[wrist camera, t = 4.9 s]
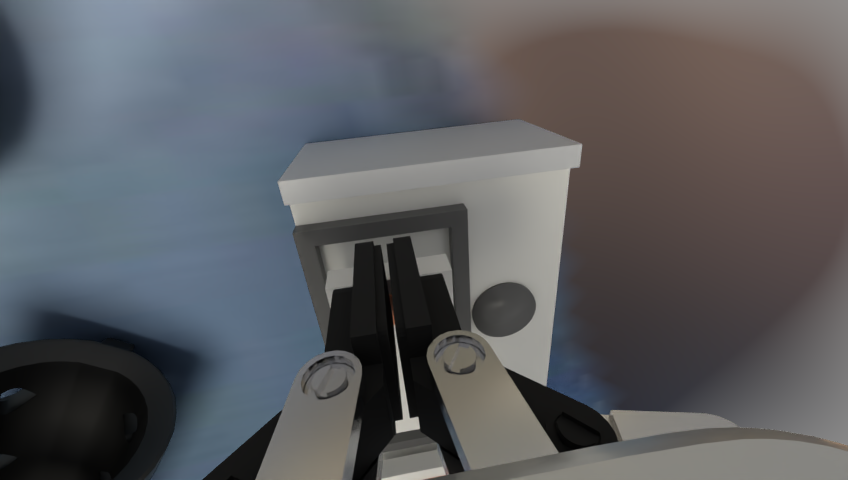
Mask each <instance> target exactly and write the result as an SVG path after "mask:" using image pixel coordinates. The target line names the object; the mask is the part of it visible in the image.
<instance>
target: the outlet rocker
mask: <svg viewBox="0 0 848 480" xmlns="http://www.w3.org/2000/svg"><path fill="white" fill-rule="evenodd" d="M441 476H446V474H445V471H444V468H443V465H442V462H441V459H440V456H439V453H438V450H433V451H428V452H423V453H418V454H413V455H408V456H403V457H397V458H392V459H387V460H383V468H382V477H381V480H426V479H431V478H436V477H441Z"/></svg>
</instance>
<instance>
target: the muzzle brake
mask: <svg viewBox="0 0 848 480" xmlns="http://www.w3.org/2000/svg"><path fill="white" fill-rule="evenodd" d="M133 348H134V345H133V344H130V343H127V342H123V341H120V340H116V339H113V338H107V339H105V340H103V341H102V342H96V341H90V340H79V339H45V340H37V341H29V342H21V343H15V344H10V345H6V346H2V347H0V396H1V393H3V392H5V391H7V390H10V389H13V388H22V390H20V391H18V392H17V393H15V394H13V395H10V396H8V397H4V398H1V399H0V454H1V455H0V480H150V479H151V477H152V475H153V474H154V472H155V470H156V468H157V466H158V465H159V463H160V461H161V459H162V457H163V455H164V453H165V451H166V449H167V446H168V444H169V442H170V439H171V437H172V434H173V432H174V427H175V420H176V403H175V396H174V393H173V391H172V388H171V386H170V383H169V382H168V380H167V379H166V378H165V376H164V375H163V374H162V372H161V371H160V370H159V369H158V368H157V367H155V366H154V365H153V364H152V363H151V362H150V361H149V360H147V359H145V358H143V357H141V356H140V355H138V354H136V353H134V352H132V351H133Z"/></svg>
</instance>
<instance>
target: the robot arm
mask: <svg viewBox="0 0 848 480" xmlns="http://www.w3.org/2000/svg"><path fill="white" fill-rule="evenodd" d="M386 245H387V255H388V264H389V273H390V283H391V292H392V301H393V311H394V320H395V328H396V336H397V342H398V348H399V355H400V361H401V367H402V373H403V379H404V385H405V392H406V398H407V404H408V410H409V416H410V418H414V417H418V418H419V425H420V432H422V433H423V434H425V435H426V436H427V437H429V438H430V439H432V440H433V441H435V442H436V444H437V450H438V453H439V456H440V459H441V462H442V465H443V468H444V471H445V474H446V476H441V477H436V478H431V479H426V480H848V446H847V445H844V444H841V443H837V442H833V441H830V440H826V439H821V438H818V437H814V436H808V435H802V434H796V433H790V432H785V431H778V430H770V429H759V428H740V427H739V426H737V425H736V424H734V423H733V422H731V421H728V420H726V419H723V418H721V417H719V416H716V415H710V414H704V413H682V412H654V411H653V412H652V411H625V410H611V411H610V415H601V414H599V413H598V412H597V411H595V410H593V409H592V408H590V407H588V406H587V405H585V404H582V403H580V402H578V401H576V400H574V399H572V398H570V397H568V396H565V395H563V394H561V393H559V392H557V391H555V390H553V389H550V388H548V387H546V386H544V385H542V384H540V383H538V382H535V381H533V380H531V379H529V378H527V377H525V376H523V375H520V374H518V373H516V372H514V371H512V370H510V369H508V368H506V367H504V366H503V365H502V363H501V362H500V360H499V359H498V357H497V356H496V354H495V352H494V351H493V349H492V348H491V346H490V345H489V343H488V342H487V341H486V340H485V339H484V338H483V337H481V336H479V335H478V334H476V333H473V332H469V331H463V330H461V327H460V324H459V321H458V318H457V315H456V312H455V309H454V306H453V303H452V301H451V298H450V295H449V292H448V289H447V286H446V283H445V280H444V277H443V275H442V273H439V274H433V275H426V276H420V274H419V270H418V266H417V262H416V258H415V254H414V249H413V245H412V241H411V237H410V236H405V237H398V238H393V243H389V244H386ZM398 420H403V412H402V403H401V393H400V383H399V373H398V363H397V353H396V344H395V334H394V324H393V316H392V310H391V304H390V298H389V291H388V285H387V279H386V273H385V267H384V261H383V255H382V249H381V245H375V246H374V242H373V241H370V242H363V243H356V244H355V251H354V269H353V287H347V288H341V289H334V290H333V293H332V301H331V308H330V315H329V323H328V330H327V338H326V345H325V353H322V354H320V355H317V356H315V357H314V358H312V359H311V360H309V361H308V362H307V363H306V364H305V365H304V366H303V367H302V368H301V369H300V370H299V372H298V374H297V375H296V377H295V379H294V382H293V384H292V387H291V389H290V392H289V395H288V397H287V400H286V402H285V405H284V407H283V410H281V411H280V412H279V413H278V414H277V415H276V416H275V417H273V418H272V419H271V420H270V421H269V422H268V423H267V424H265V425H264V426H263V427H262V428H261V429H260V430H259V431H257V432H256V433H255V434H254V435H253V436H252V437H251V438H249V439H248V440H247V441H246V442H245V443H244V444H243V445H241V446H240V447H239V448H238V449H237V450H236V451H235V452H233V453H232V454H231V455H230V456H229V457H228V458H227V459H225V460H224V461H223V462H222V463H221V464H220V465H219V466H217V467H216V468H215V469H214V470H213V471H212V472H211V473H209V474H208V475H207V476H206V477H205V478H204V479H203V480H381V477H382V468H383V452H382V451H383V450H384V448H385V447H386V446H387V445H388V443H389V442H390V441H391V440H392V438H393V437H394V435H396V424H395V421H398Z"/></svg>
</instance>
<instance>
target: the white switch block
mask: <svg viewBox="0 0 848 480" xmlns="http://www.w3.org/2000/svg"><path fill="white" fill-rule="evenodd" d="M581 150H582V144H581V143H579V142H576V141H574V140H570V139H568V138H566V137H563V136H561V135H558V134H556V133H553V132H551V131H548V130H546V129H543V128H540V127H538V126H536V125H533V124H530V123H528V122H525V121H523V120H520V119H515V120H506V121H498V122H489V123H480V124H472V125H463V126H454V127H446V128H437V129H429V130H420V131H411V132H403V133H394V134H385V135H377V136H368V137H360V138H351V139H342V140H334V141H325V142H316V143H308V144H305V145H304V146H303V148H302V149H301V150H300V152H299V153H298V154H297V156H296V157H295V159H294V160H293V161H292V163H291V164H290V165H289V167H288V168H287V170H286V171H285V172H284V174H283V175H282V176H281V178H280V179H279V181H278V185H279V189H280V192H281V195H282V199H283V202H284V206H286V205H290V208H291V211H292V215H293V218H294V222H295V225H296V226H295V229H294V231H293V237H294V240H295V244H296V247H297V251H298V254H299V258H300V261H301V264H302V268H303V271H304V275H305V278H306V282H307V285H308V289H309V292H310V296H311V299H312V302H313V306H314V309H315V313H316V316H317V320H318V323H319V327H320V330H321V334H322V337H323V340H324V344H325V345H326V338H327V330H328V323H329V315H330V305H329V302H328V298H327V294H326V291H325V286H326V280H327V273H328V271H331V270H338V269H344V268H351V267H354V251H355V244H356V243H363V242H370V241H373V242H374V246H375V245H381V249H382V255H383V261H384V263H385V262H388V255H387V245H386V244H389V243H393V238H398V237H405V236H410V237H411V241H412V245H413V249H414V254H415V258H419V257H426V256H433V255H439V254H446V256H447V258H448V261H449V264H450V266H451V269H452V282H453V303H454V309H455V312H456V315H457V318H458V321H459V324H460V327H461V330H463V331H469V332H473V333H476V334H478V335H479V336H481V337H483V338H484V339H485V340H486V341H487V342H488V343H489V345H490V346H491V348H492V349H493V351H494V352H495V354H496V356H497V357H498V359H499V360H500V362H501V363H502V365H503V366H504V367H506V368H508V369H510V370H512V371H514V372H516V373H518V374H520V375H523V376H525V377H527V378H529V379H531V380H533V381H535V382H538V383H540V384H542V385H544V386H546V385H547V376H548V367H549V357H550V348H551V339H552V330H553V321H554V312H555V302H556V293H557V284H558V275H559V266H560V257H561V248H562V238H563V229H564V220H565V211H566V201H567V193H568V183H569V174H570V168H578V167H580V159H581ZM433 450H437V444H436V442H435V441H433V440H432V439H430V438H429V437H427V436H426V435H425V434H423V433H422V432H420V429H416V430H411V431H406V432H400V433H396V435H394V437H393V438H392V440H391V441H390V442H389V443H388V445H387V446H386V447H385V448H384V450H383V451H382V452H383V460H387V459H392V458H397V457H403V456H408V455H413V454H418V453H423V452H428V451H433Z"/></svg>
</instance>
